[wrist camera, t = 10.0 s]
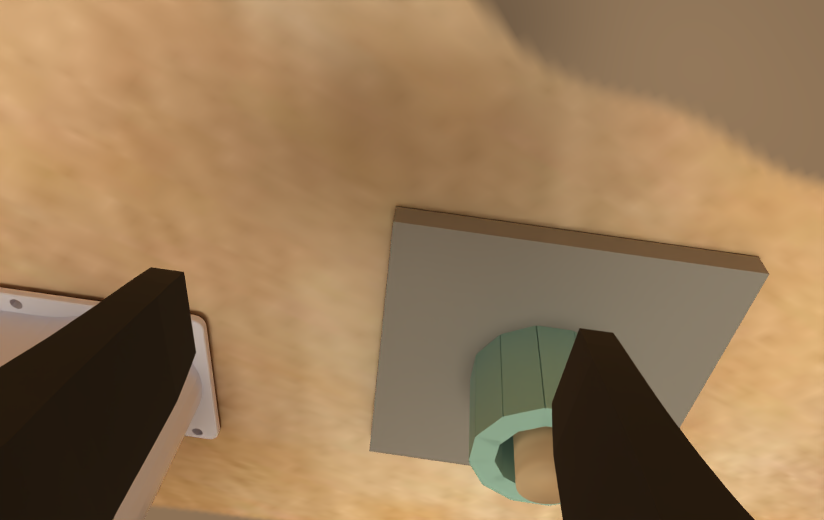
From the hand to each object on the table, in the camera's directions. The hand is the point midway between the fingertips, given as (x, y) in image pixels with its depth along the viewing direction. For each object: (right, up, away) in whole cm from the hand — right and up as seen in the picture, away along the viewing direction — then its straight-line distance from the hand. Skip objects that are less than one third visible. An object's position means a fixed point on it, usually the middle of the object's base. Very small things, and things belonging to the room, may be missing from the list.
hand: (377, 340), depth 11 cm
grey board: (+6, -3, +14) cm, 16 cm away
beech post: (+6, -3, +13) cm, 15 cm away
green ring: (+6, -3, +13) cm, 15 cm away
